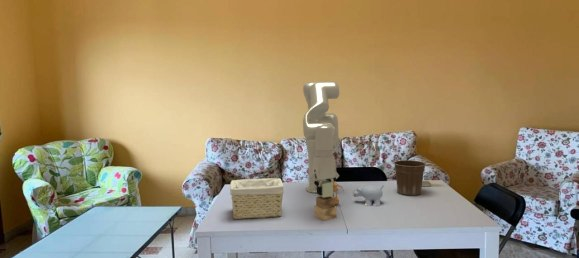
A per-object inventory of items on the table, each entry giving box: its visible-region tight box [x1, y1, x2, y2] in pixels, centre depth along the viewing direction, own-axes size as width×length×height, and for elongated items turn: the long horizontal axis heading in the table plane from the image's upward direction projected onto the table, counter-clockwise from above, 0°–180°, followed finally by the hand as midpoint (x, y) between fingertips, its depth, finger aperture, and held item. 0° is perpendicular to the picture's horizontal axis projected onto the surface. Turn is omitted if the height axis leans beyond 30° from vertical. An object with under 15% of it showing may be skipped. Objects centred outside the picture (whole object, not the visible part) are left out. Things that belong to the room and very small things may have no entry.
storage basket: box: [229, 177, 285, 220], centre depth 179 cm, size 24×16×15 cm
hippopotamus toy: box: [352, 183, 385, 207], centre depth 191 cm, size 11×15×10 cm
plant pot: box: [393, 159, 427, 197], centre depth 205 cm, size 16×16×16 cm
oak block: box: [314, 204, 338, 221], centre depth 173 cm, size 7×7×5 cm
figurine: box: [332, 181, 345, 206], centre depth 188 cm, size 8×6×12 cm
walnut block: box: [315, 195, 336, 209], centre depth 172 cm, size 6×6×4 cm
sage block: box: [316, 179, 334, 198], centre depth 172 cm, size 5×5×6 cm
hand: (325, 193), depth 172 cm, fingers closed on sage block, 4 cm apart
